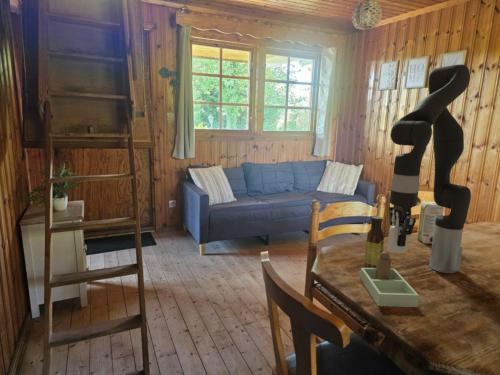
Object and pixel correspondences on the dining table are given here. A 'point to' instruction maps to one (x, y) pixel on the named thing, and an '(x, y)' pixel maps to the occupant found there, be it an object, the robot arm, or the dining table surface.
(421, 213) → the juice carton
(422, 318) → the dining table surface
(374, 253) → the sauce bottle
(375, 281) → the caddy
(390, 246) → the eye dropper bottle
